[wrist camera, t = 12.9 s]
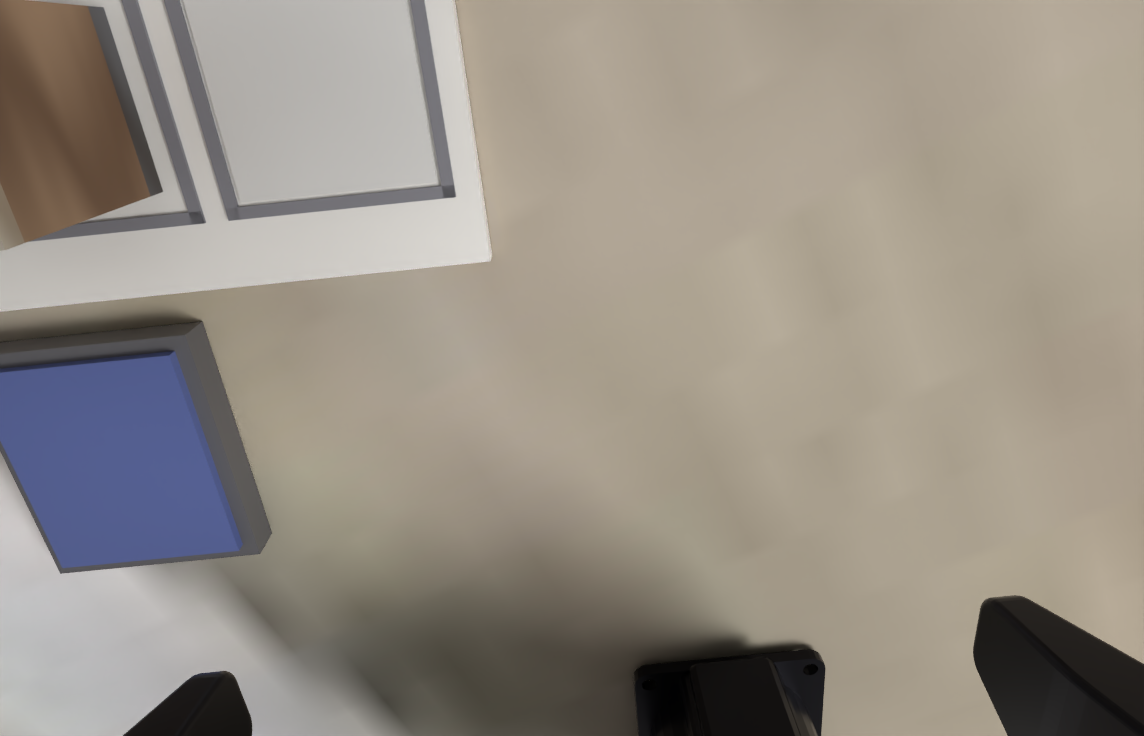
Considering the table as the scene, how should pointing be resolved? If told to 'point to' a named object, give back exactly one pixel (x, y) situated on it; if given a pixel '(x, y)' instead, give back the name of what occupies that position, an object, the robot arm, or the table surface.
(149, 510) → the ink pad
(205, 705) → the robot arm
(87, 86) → the beige block
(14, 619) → the table surface
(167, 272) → the sheet
